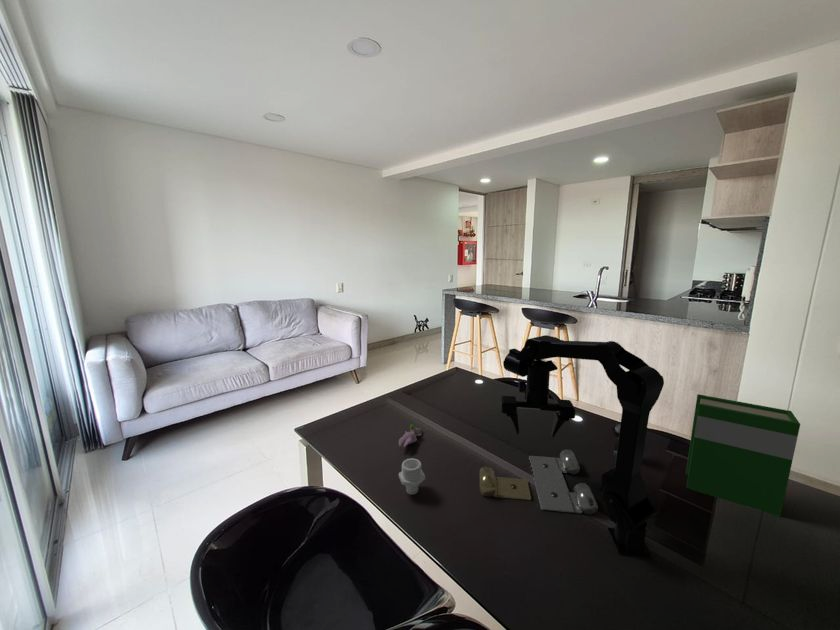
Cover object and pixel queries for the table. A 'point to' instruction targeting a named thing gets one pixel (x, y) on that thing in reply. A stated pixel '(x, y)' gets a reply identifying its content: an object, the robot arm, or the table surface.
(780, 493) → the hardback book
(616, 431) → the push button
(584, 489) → the steel hinge leaf
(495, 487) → the brass hinge leaf
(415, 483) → the pipe fitting
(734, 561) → the table surface
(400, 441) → the purple flower
